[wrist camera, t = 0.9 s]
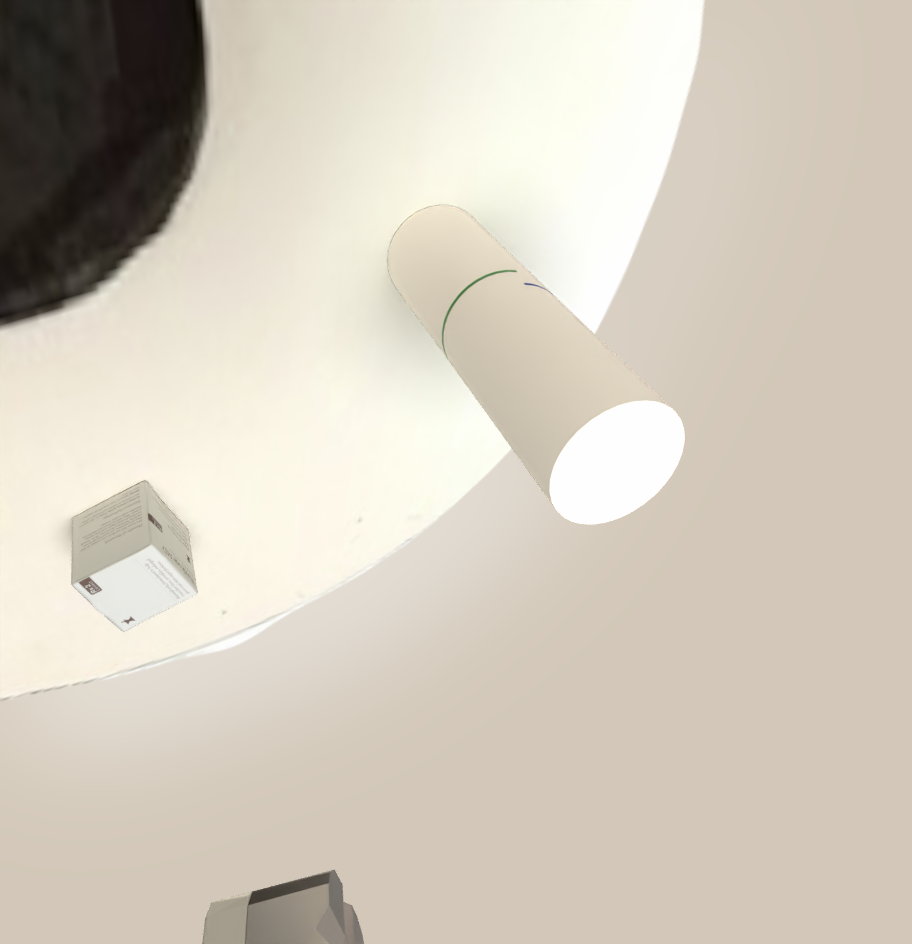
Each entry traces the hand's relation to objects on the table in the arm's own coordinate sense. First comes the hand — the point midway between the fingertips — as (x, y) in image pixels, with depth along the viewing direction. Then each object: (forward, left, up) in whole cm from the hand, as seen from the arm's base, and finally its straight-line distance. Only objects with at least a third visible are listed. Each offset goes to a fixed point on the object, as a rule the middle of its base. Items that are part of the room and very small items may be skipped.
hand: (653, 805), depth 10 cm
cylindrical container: (+15, +12, -46) cm, 49 cm away
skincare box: (+30, -14, -46) cm, 56 cm away
